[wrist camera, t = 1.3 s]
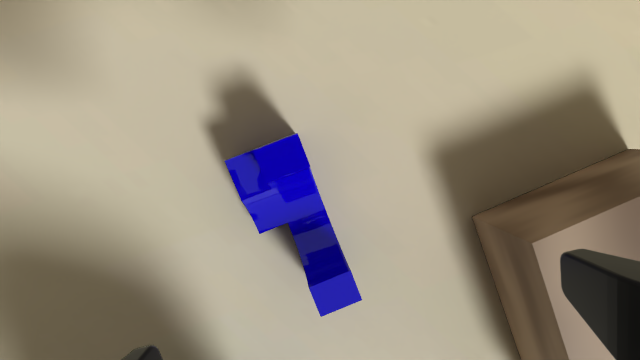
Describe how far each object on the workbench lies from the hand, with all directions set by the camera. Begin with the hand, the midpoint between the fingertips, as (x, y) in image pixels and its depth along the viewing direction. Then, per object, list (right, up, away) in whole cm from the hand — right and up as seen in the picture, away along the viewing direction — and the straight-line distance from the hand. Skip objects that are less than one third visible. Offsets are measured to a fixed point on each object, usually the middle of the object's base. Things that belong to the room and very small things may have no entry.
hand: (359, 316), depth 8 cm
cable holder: (-2, +1, +12) cm, 12 cm away
